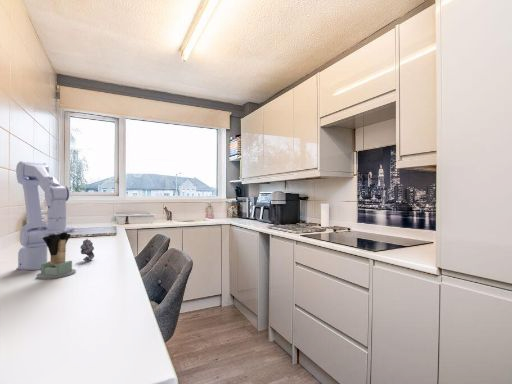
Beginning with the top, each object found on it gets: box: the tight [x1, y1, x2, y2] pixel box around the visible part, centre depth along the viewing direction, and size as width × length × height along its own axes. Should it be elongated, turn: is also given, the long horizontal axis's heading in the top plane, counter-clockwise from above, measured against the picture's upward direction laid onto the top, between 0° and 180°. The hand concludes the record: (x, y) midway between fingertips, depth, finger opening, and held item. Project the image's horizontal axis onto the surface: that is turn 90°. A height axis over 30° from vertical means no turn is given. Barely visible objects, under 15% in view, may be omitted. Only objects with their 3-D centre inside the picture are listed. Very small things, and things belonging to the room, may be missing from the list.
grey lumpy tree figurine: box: [79, 238, 95, 262], centre depth 128 cm, size 5×5×10 cm
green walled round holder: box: [36, 260, 76, 280], centre depth 106 cm, size 12×12×5 cm
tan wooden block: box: [49, 239, 67, 265], centre depth 106 cm, size 4×2×9 cm, turn 82°
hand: (56, 254), depth 106 cm, fingers closed on tan wooden block, 2 cm apart
